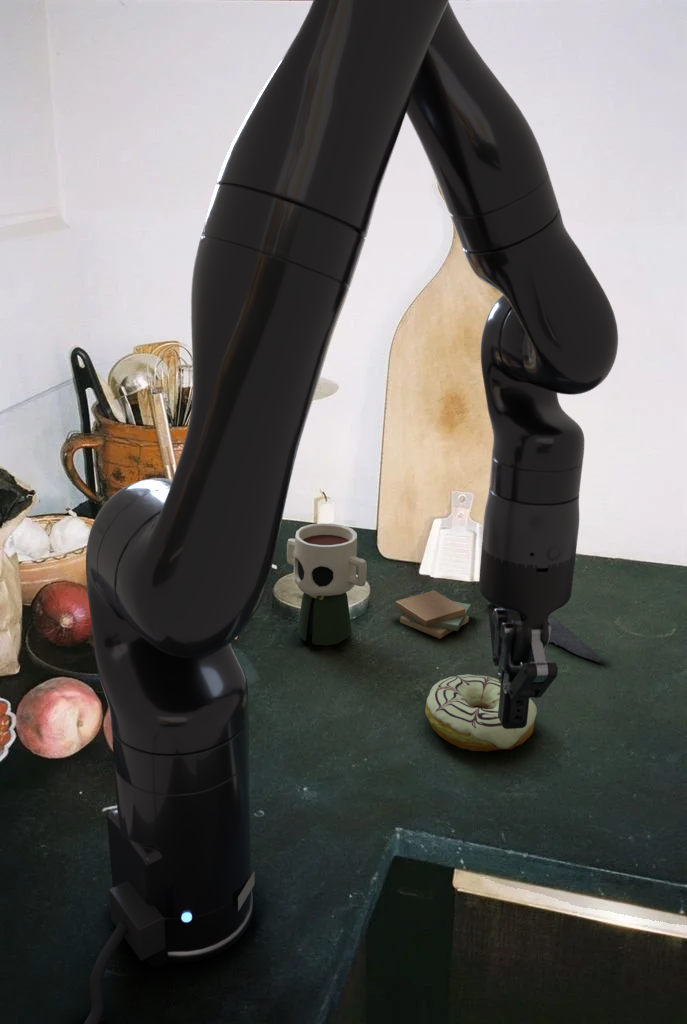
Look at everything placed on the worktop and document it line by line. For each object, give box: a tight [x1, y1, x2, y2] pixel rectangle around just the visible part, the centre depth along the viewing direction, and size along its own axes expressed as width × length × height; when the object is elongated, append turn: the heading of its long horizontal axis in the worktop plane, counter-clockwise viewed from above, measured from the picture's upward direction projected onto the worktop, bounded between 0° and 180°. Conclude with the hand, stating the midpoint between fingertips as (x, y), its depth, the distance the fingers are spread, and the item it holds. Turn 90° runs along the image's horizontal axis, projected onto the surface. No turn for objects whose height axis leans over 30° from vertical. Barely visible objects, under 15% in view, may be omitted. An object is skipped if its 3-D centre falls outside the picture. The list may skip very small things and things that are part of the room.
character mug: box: [286, 522, 368, 646], centre depth 108 cm, size 11×7×13 cm, turn 56°
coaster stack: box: [395, 589, 472, 640], centre depth 114 cm, size 9×8×2 cm
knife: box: [548, 616, 602, 663], centre depth 111 cm, size 17×2×5 cm
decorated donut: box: [424, 673, 538, 752], centre depth 92 cm, size 10×11×4 cm
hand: (511, 723), depth 82 cm, fingers closed
